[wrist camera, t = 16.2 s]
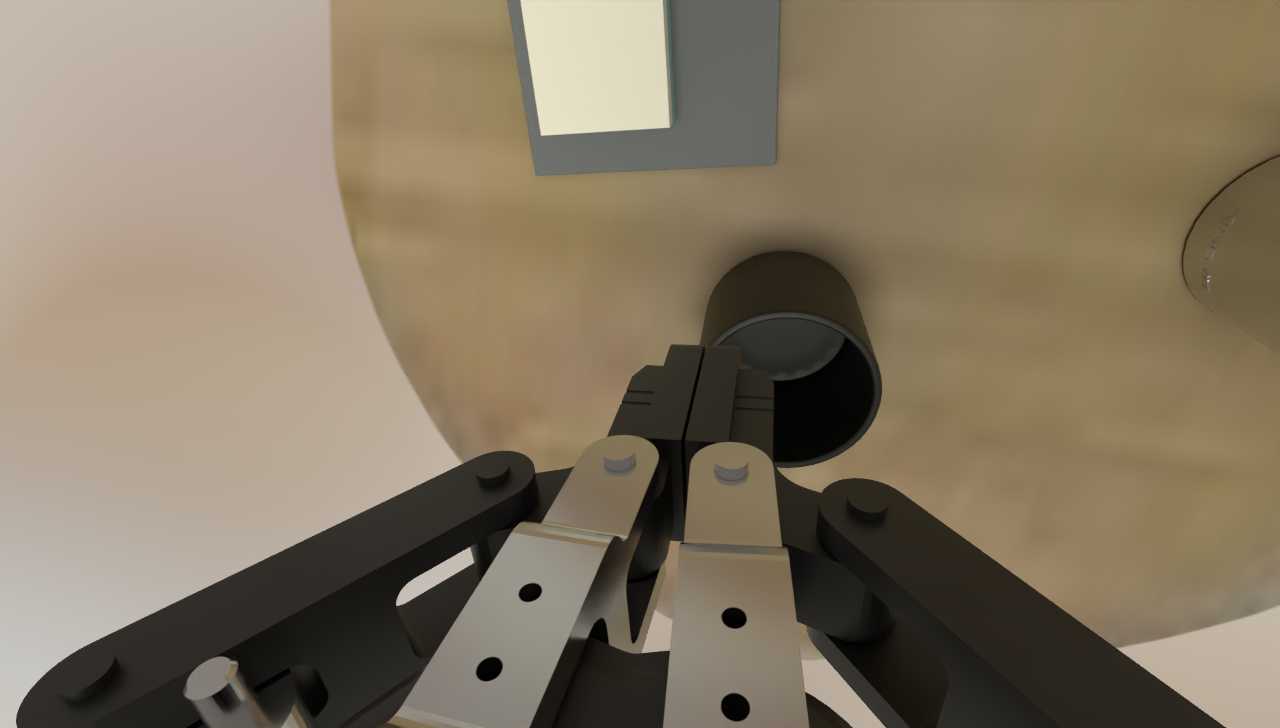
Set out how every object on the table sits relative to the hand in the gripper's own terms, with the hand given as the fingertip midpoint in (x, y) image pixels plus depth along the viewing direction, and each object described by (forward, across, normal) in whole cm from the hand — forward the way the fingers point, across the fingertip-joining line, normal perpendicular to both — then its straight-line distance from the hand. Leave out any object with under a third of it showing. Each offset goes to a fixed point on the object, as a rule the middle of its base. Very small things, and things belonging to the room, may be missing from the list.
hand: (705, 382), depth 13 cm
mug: (+25, -2, +11) cm, 27 cm away
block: (+22, +4, -7) cm, 24 cm away
